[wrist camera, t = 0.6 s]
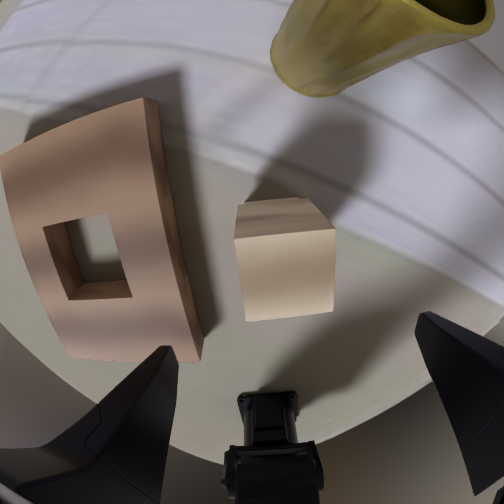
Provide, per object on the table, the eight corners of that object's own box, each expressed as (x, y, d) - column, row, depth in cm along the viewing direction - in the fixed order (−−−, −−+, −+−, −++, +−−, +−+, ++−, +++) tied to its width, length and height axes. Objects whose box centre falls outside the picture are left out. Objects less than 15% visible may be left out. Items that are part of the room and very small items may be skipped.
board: (204, 338, 25) (200, 361, 22) (81, 339, 25) (69, 357, 22) (157, 101, 17) (142, 97, 14) (20, 151, 17) (-2, 156, 14)
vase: (251, 49, 15) (260, -92, 2) (316, 9, 14) (404, -108, 1) (309, 114, 17) (443, 84, 4) (371, 71, 16) (525, 27, 3)
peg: (305, 250, 21) (333, 311, 14) (246, 256, 21) (246, 321, 14) (302, 191, 19) (335, 228, 12) (238, 197, 20) (234, 239, 12)
